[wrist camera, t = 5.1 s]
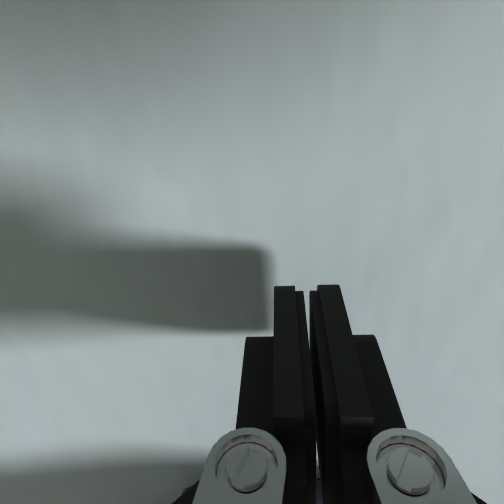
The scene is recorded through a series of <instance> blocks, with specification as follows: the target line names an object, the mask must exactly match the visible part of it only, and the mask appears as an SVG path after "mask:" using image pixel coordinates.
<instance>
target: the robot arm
mask: <svg viewBox="0 0 504 504" xmlns="http://www.w3.org/2000/svg"><path fill="white" fill-rule="evenodd" d="M309 299H310V349H309V340H308V331H307V321H306V312H305V302H304V293H303V291H295V286H274V336H271V337H246V341H245V349H244V358H243V367H242V376H241V386H240V395H239V404H238V413H237V422H236V430H233V431H230V432H229V433H227V434H226V435H224V436H222V437H221V438H220V439H219V440H218V441H217V442H216V443H215V444H214V445H213V447H212V449H211V451H210V453H209V455H208V457H207V460H206V463H205V466H204V469H203V472H202V475H201V478H200V480H199V481H198V482H197V483H196V484H195V485H193V486H192V487H191V488H190V489H189V490H187V491H186V492H185V493H184V494H183V495H182V496H180V497H179V498H178V499H177V500H176V501H175V502H173V503H172V504H316V441H317V451H318V461H319V471H320V481H321V491H322V501H323V504H487V503H485V502H484V501H483V500H481V499H480V498H478V497H477V496H475V495H474V494H473V493H471V492H470V491H469V489H468V487H467V485H466V484H465V482H464V480H463V479H462V477H461V475H460V473H459V472H458V470H457V468H456V467H455V465H454V463H453V461H452V460H451V458H450V457H449V456H448V454H447V453H446V452H445V450H444V449H443V448H442V447H441V446H440V445H439V444H437V443H436V442H435V441H434V440H433V439H431V438H430V437H428V436H426V435H424V434H422V433H420V432H418V431H414V430H410V429H407V428H406V425H405V422H404V419H403V416H402V413H401V410H400V407H399V404H398V402H397V399H396V396H395V393H394V390H393V387H392V384H391V381H390V378H389V375H388V372H387V369H386V366H385V363H384V360H383V357H382V354H381V351H380V348H379V345H378V343H377V340H376V338H375V336H374V335H352V331H351V328H350V324H349V320H348V316H347V312H346V308H345V305H344V301H343V297H342V293H341V289H340V286H339V285H318V286H317V291H310V295H309Z"/></svg>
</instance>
